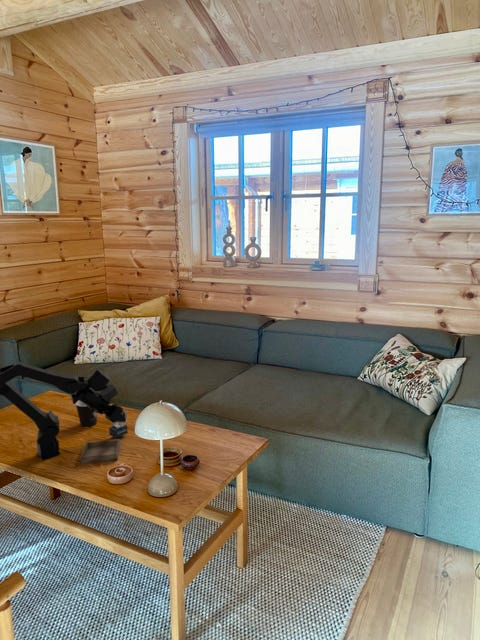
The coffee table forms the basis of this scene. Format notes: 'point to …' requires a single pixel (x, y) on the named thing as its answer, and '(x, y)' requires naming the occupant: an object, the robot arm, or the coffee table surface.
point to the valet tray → (100, 451)
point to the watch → (119, 427)
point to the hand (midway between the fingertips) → (119, 417)
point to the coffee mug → (86, 415)
